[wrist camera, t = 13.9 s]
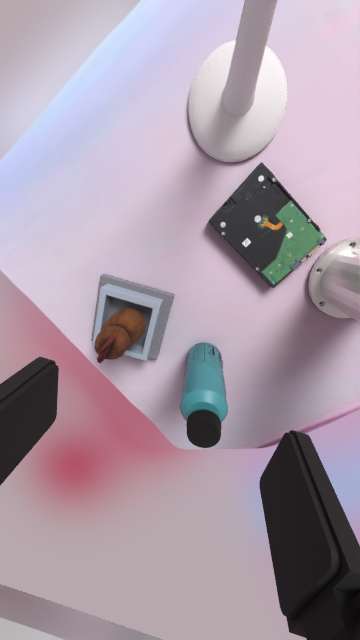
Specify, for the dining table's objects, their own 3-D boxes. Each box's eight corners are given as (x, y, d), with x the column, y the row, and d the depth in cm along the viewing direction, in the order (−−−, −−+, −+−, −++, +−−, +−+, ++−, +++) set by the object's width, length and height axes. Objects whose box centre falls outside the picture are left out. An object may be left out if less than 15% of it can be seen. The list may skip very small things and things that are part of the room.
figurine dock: (174, 294, 42) (170, 301, 38) (158, 355, 46) (153, 368, 42) (104, 273, 42) (92, 278, 38) (94, 337, 47) (83, 347, 42)
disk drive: (207, 222, 38) (269, 286, 40) (207, 221, 35) (274, 289, 37) (257, 165, 34) (322, 238, 37) (261, 160, 32) (331, 238, 34)
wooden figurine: (133, 296, 41) (96, 329, 27) (155, 321, 42) (130, 365, 28) (107, 318, 43) (60, 360, 29) (129, 341, 44) (93, 392, 30)
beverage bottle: (182, 360, 46) (166, 447, 28) (195, 331, 44) (187, 405, 25) (213, 372, 47) (217, 466, 28) (227, 344, 44) (243, 427, 25)
